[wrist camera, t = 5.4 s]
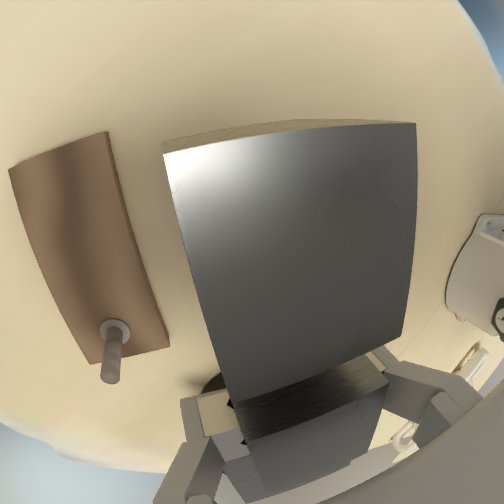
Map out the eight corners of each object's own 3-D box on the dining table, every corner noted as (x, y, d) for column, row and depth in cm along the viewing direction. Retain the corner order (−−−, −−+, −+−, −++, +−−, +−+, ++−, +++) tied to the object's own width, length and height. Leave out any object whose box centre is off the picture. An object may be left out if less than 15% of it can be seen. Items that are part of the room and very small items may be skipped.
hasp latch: (114, 155, 7) (55, 187, 3) (331, 116, 8) (460, 124, 4) (234, 469, 14) (257, 534, 10) (331, 435, 15) (366, 491, 11)
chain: (395, 439, 56) (407, 456, 51) (384, 439, 53) (398, 457, 48) (479, 346, 52) (496, 360, 46) (475, 340, 49) (493, 355, 44)
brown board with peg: (107, 131, 18) (83, 132, 12) (168, 336, 26) (176, 393, 20) (16, 166, 17) (-32, 183, 10) (92, 354, 24) (83, 410, 18)
